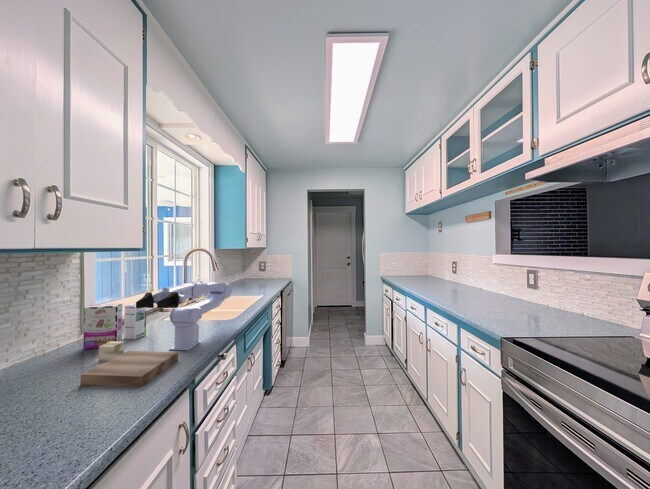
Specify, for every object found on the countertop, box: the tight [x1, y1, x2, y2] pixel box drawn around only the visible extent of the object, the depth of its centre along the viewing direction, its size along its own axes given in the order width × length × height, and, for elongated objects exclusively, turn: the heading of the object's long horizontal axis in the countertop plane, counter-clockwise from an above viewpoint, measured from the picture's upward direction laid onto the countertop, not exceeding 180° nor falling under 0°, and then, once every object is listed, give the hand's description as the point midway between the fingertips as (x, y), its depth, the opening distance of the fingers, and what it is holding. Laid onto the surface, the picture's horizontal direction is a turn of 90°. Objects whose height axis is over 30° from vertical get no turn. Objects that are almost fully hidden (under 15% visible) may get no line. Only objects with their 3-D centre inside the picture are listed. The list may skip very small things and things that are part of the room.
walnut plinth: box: [80, 350, 179, 388], centre depth 87 cm, size 18×18×3 cm
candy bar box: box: [83, 303, 123, 350], centre depth 108 cm, size 11×5×16 cm, turn 105°
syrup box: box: [123, 302, 147, 340], centre depth 120 cm, size 6×6×14 cm
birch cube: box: [98, 341, 125, 362], centre depth 97 cm, size 5×5×5 cm
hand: (147, 305), depth 89 cm, fingers open, 7 cm apart
